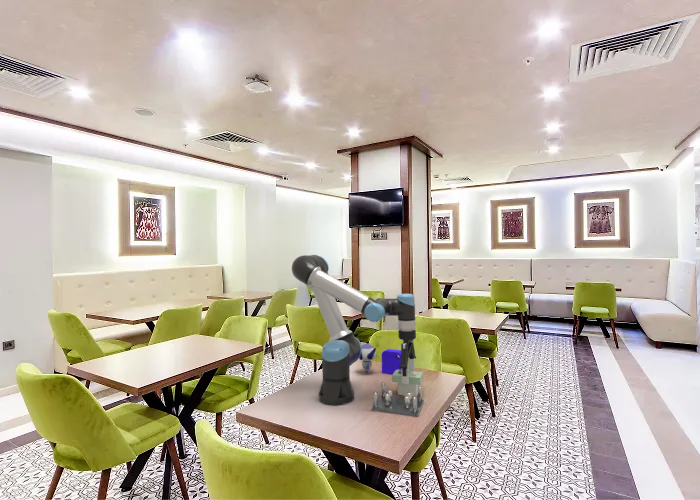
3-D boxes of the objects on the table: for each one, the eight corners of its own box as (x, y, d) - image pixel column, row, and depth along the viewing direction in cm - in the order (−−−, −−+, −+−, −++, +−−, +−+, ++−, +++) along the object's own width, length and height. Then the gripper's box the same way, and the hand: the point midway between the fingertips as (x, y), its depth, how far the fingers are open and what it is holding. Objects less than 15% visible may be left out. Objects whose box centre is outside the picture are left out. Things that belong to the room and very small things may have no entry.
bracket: (401, 376, 186) (401, 353, 186) (381, 373, 191) (381, 350, 191) (413, 366, 201) (413, 344, 201) (394, 364, 207) (394, 342, 207)
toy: (354, 370, 195) (354, 342, 195) (372, 368, 198) (371, 340, 198) (361, 377, 185) (360, 347, 185) (379, 375, 188) (379, 345, 188)
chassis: (371, 410, 146) (371, 393, 146) (381, 397, 159) (381, 381, 159) (417, 416, 139) (417, 399, 139) (423, 402, 152) (423, 386, 153)
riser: (398, 394, 161) (397, 380, 161) (400, 391, 165) (399, 378, 165) (416, 397, 159) (416, 382, 159) (418, 393, 162) (417, 379, 162)
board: (392, 382, 160) (392, 373, 160) (396, 376, 168) (396, 367, 168) (419, 385, 156) (419, 376, 156) (423, 378, 164) (423, 370, 164)
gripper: (409, 336, 149) (411, 389, 149) (420, 324, 172) (422, 370, 172) (391, 335, 152) (393, 387, 151) (404, 323, 175) (406, 369, 175)
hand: (408, 378), depth 162 cm, fingers open, 13 cm apart
